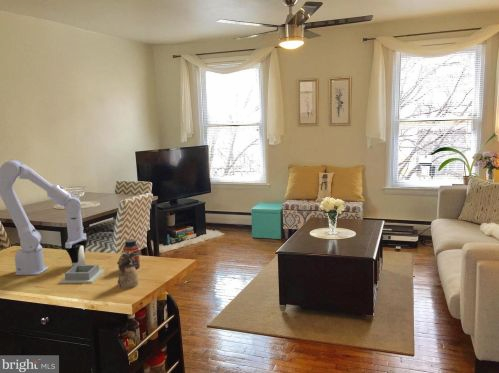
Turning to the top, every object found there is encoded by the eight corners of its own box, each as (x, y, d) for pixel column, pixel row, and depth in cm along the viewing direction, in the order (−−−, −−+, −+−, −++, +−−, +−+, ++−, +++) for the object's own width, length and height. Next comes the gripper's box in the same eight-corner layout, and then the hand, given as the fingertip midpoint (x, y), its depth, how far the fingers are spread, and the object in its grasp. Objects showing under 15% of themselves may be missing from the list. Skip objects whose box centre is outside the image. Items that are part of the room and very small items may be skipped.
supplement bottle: (135, 271, 166) (133, 242, 164) (121, 270, 167) (119, 242, 166) (142, 265, 172) (140, 238, 170) (128, 265, 173) (126, 238, 171)
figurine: (120, 281, 156) (117, 249, 154) (140, 280, 156) (137, 248, 155) (115, 289, 149) (113, 256, 147) (136, 288, 149) (134, 255, 147)
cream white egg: (69, 268, 171) (67, 248, 170) (75, 263, 176) (73, 245, 175) (82, 268, 171) (80, 248, 170) (87, 263, 176) (85, 245, 175)
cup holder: (59, 283, 156) (58, 274, 156) (74, 271, 168) (73, 263, 167) (91, 282, 155) (91, 274, 155) (104, 271, 167) (103, 263, 167)
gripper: (76, 232, 164) (79, 266, 166) (92, 222, 178) (95, 254, 180) (58, 232, 164) (62, 266, 166) (75, 223, 179) (78, 254, 181)
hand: (78, 260), depth 173 cm, fingers closed on cream white egg, 5 cm apart
